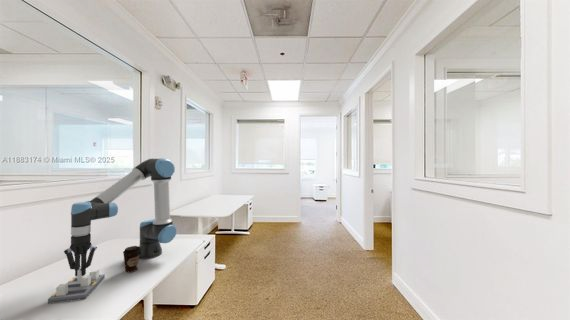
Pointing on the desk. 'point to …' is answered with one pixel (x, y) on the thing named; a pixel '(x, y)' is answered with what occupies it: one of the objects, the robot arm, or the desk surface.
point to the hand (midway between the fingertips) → (80, 282)
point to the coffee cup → (131, 258)
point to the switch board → (76, 290)
